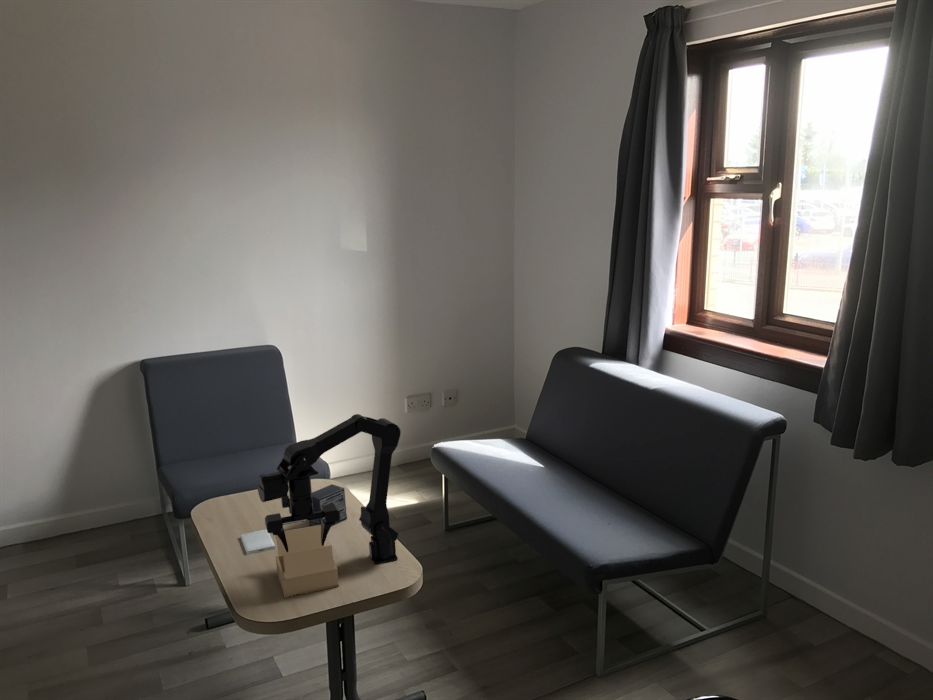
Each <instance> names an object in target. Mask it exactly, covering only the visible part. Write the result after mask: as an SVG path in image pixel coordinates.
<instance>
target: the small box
mask: <svg viewBox="0 0 933 700" xmlns="http://www.w3.org/2000/svg"><path fill="white" fill-rule="evenodd" d="M312 502H313V512H317V511H321V506H325V505H331V504H335V505H336V506H337V508H338V510H339V513H340V520H339V521H336V522H335V524H334V525H332V526H331V527H333V526H335V525H337V524H339V523H342V522H344V521H345V520H347V519H348V515H347V506H346V505H347V504H346V492H345V487H342V486H339V485H336V484H330V485H326V486H324V487H322V488H320V489H317V490H315V491H312ZM308 523H309V526H308V527H311V526H316V525H321V518H320V519H314V520H309V521H308Z"/></svg>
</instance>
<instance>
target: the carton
mask: <svg viewBox="0 0 933 700" xmlns="http://www.w3.org/2000/svg"><path fill="white" fill-rule="evenodd" d="M275 563H276V564H275V565H276V575H277V576H278V577H279V578H278V577H277V578H278V581H279V584H280V588H281V590H282V594H283V598H284V597H285V598H289V596H290V597H293V595H295V596H297V595H296V594H300V595H302V594H301V593H305V594H309V593H313V592H317V591H318V592H319V591H323V590H327V589H332V588H338V587H339V586H340V585H339V570H338V567H337V565H336V563H335V561H334V568H335V569H334V570H329V571H324V572H319V573H314V574H309V575H304V576H299V577H294V578H289V579H286V575H285V567H284V559H283V555H275ZM308 592H309V593H308Z"/></svg>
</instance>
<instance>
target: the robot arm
mask: <svg viewBox="0 0 933 700" xmlns="http://www.w3.org/2000/svg"><path fill="white" fill-rule="evenodd" d="M401 432H402V431H401V428H400V426H398V425H397V424H396V423H394V422H392V421H390V420H389V419H387V418H385V417H384V418H383V417H381V418H378V419H376V418H373V417H369V416H364V415H362V414H359V413H356V414H353V415H352V416H351V417H350V418H348V419H346V420H344V421H342V422H341V423H339V424H337V425H336V426H334V427H332V428H330V429H328V430H326V431H324V432H323V433H320V434H319V435H318V436H315V437H313V438H310V439H304V440H300V441H298V442H295V443H291V444H290V445H288V446H287V447H285V450H284V453H283V457H282V459H281V461H280V462H279V464H278V465H277V467H276V471H277V472H272V473H264V474H260V475H259V477H258V478H259V479H258V483H257V484H258V485H257V493H258V497H259V499H260V501H261V502H262V503H266V502H270V501H271V502H272V501H274V500H279V499H280V500H281V508H282V509H285V508H288V511H289V515H288V516H281V513H280V512H279V513H273V514H267V515H266V516H265V517H264V525H265V528H266V529H267V532H268V533H270V534H272V535H273V536H276V535H278V537H279V538H280V540H281V541H282V543H283V545H284V547H285V550H286V552H288V545H287V540H286V536H285V532H284V531H285V529H284V525H285V526H286V525H291V524H296V523H302V522H309V520H314V519H320V518H321V545H322V546H323V545H324V546H325V543H326V539H327V536H328V535H329V532H330V529H331V528H332V527H333V526H335V525H336V524H335V522H336V521H339V520H340V513H339V510H338V508H337V506H336V505H335V504H331V505H325V506H321V511H317V512H313V502H312V492H313V491H312V479H311V476H316V475H319V471H318V470H316V468H314V467H313V465H314V464H316V463H317V462H318V460H319V459H320V457H321V456H322V455H324V454H325V453H327V452H328V451H330V450H332V449H333V448H336V447H337V446H338V445H340V444H342V443H345V442H346V441H347V440H350V439H351V438H353V437H355V436H356V435H358V434H360V433H365V434H368V435H371V440H372V445H373V448H374V456H373V466H372V475H371V484H370V491H369V492H370V494H369V500H368V503H367V504H366V506H361V507H360V515H359V516H360V517H359V518H358V521H360V524H361V525H360V526H362V528H363V529H364V530H365V532H368V534H370V535H371V536H370V541H369V542H368V548H369V550H368V552H369V557H370V559H371V560H372V561H373V563H374V564H375V565H377V564H383V563H387V562H392V561H396V560H398V556H397V553H396V550H397V548H396V541H397V540H398V537H399V532H398V531H396V530H395V529H394V528H393V527H392V526H391V525H390V514H389V510H388V507H387V506H388V504H387V501H388V492H389V483H390V474H391V466H392V458H393V454H394V451H395V450H396V449H397V447H398V444H399V441H400V438H401ZM289 467H290V469H289ZM288 493H289V494H288ZM334 524H335V525H334ZM332 525H333V526H332Z"/></svg>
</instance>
